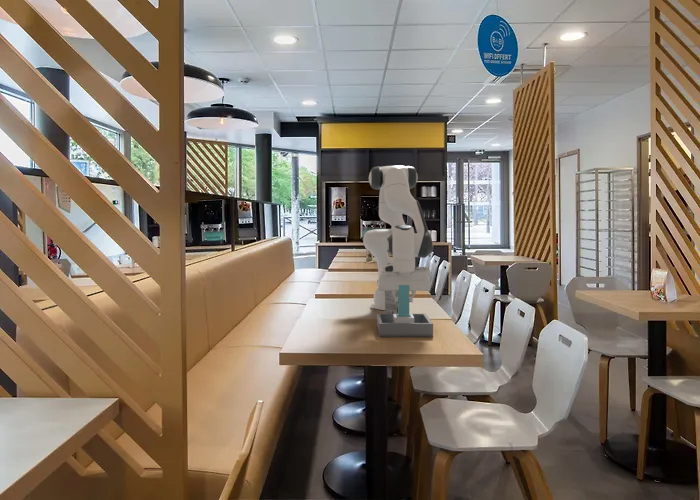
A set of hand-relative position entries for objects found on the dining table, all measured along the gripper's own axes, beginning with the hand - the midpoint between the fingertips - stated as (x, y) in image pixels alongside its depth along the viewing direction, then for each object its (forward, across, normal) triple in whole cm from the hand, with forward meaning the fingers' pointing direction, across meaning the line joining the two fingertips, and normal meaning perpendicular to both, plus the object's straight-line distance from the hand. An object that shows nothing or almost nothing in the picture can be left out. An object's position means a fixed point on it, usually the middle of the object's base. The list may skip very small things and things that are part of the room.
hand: (403, 302), depth 192 cm
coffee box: (+12, +1, -21) cm, 24 cm away
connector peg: (+5, 0, 0) cm, 5 cm away
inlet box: (+11, 0, 0) cm, 11 cm away
